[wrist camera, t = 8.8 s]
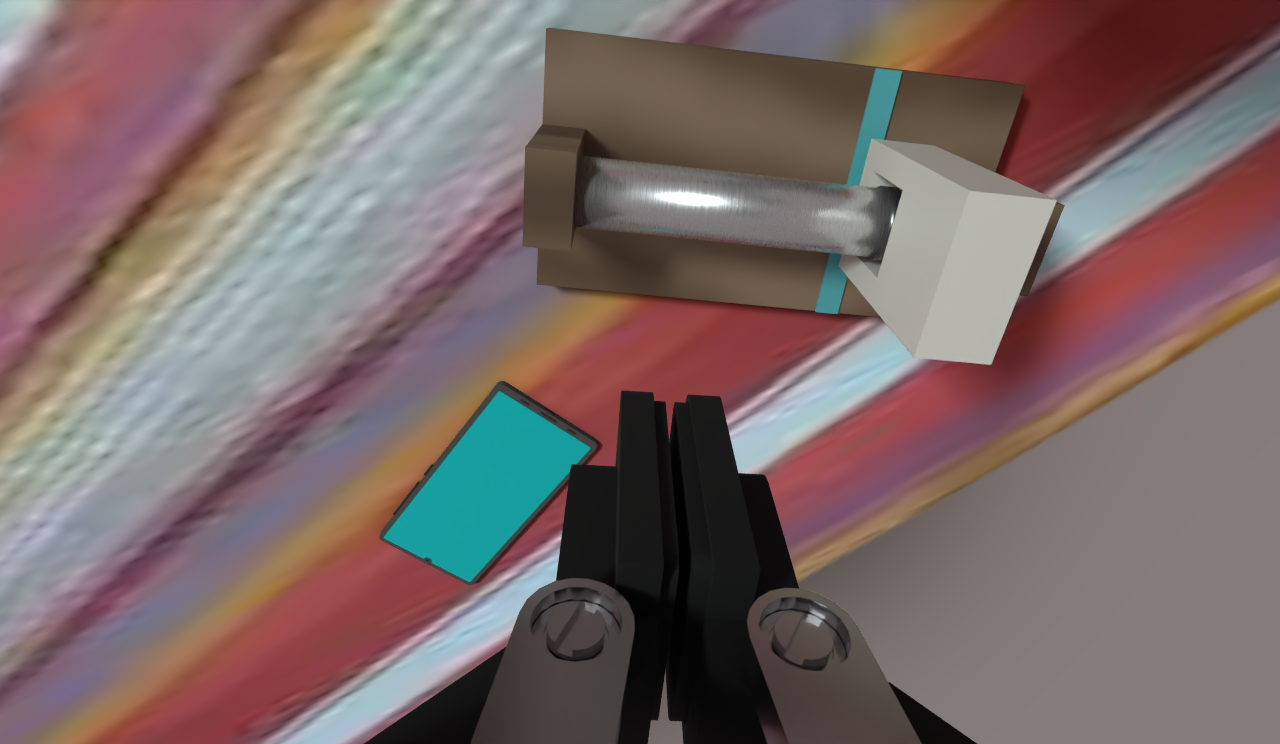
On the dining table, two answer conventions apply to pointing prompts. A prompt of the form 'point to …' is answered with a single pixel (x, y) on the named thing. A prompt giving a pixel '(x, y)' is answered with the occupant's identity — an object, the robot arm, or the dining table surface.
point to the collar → (948, 251)
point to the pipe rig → (733, 168)
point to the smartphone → (487, 484)
